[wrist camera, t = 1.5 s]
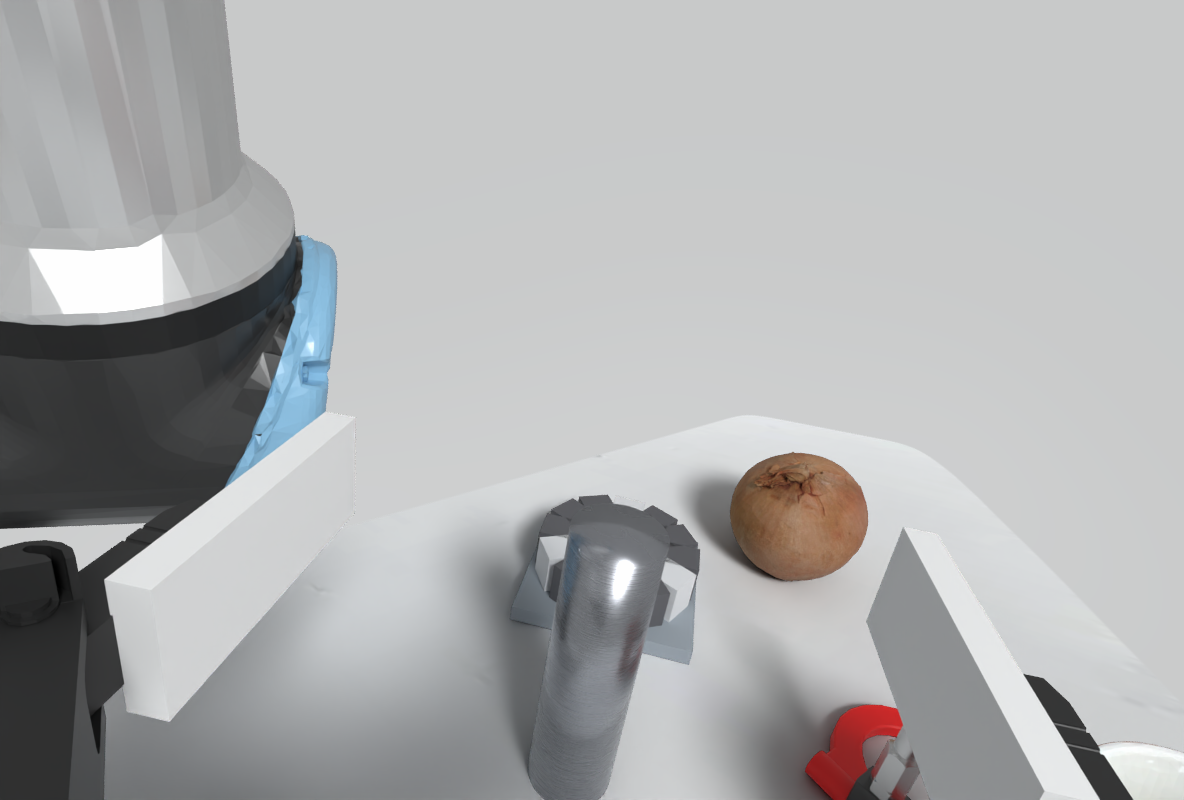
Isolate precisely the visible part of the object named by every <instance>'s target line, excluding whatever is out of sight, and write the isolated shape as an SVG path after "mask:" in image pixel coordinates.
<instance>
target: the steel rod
mask: <svg viewBox="0 0 1184 800" xmlns="http://www.w3.org/2000/svg"><path fill="white" fill-rule="evenodd" d="M669 545H670V539H669V535H668V533H667V531H666V530H665V528H664V527H663V526H662V524H661V523H660V522H659V521H657V520H656V519H655V518H654V517H652V516H650V515H649V514H647V513H645V512H643V511H641V510H639V509H636V508H633V507H630V506H626V505H621V504H611V503H604V504H595V505H591V506H588V507H585V508H583V509H581V510H580V511H578V512H577V513H576V514H575V515H574V516H573V518H572V520H571V523H570V528H569V533H568V539H567V545H566V550H565V556H564V562H563V567H562V573H561V579H560V585H559V590H558V596H557V602H556V607H555V613H554V619H553V624H552V630H551V636H550V642H549V647H548V653H547V659H546V664H545V670H544V676H543V682H542V687H541V693H540V699H539V704H538V710H537V716H536V721H535V727H534V733H533V739H532V744H531V750H530V756H529V761H528V773H529V778H530V780H531V783H532V785H533V787H534V788H535V790H536V791H537V792H538V794H539V795H540V796H541V797H542V798H544V799H545V800H598V799H599V798H601V796H602V795H603V794H604V793H605V791H606V789H607V787H608V784H609V780H610V777H611V773H612V769H613V765H614V761H615V757H616V753H617V749H618V745H619V741H620V737H621V733H622V730H623V726H624V722H625V718H626V714H627V710H628V706H629V702H630V698H631V694H632V690H633V686H634V683H635V679H636V675H637V671H638V667H639V663H640V659H641V655H642V651H643V647H644V643H645V640H646V636H647V632H648V628H649V624H650V620H651V616H652V612H653V608H654V604H655V600H656V596H657V593H658V589H659V585H660V581H661V577H662V573H663V569H664V565H665V561H666V557H667V553H668V550H669Z"/></svg>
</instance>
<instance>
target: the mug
mask: <svg viewBox="0 0 1184 800" xmlns="http://www.w3.org/2000/svg"><path fill="white" fill-rule="evenodd" d="M1098 747H1099V748H1100V754H1102V755H1104V756H1105V757H1106V759H1107V760H1108V762H1109V763H1110V765H1111V766H1112V768H1113V769H1114V771H1115V772H1116V774H1117V776H1118V777H1119V779H1120V780H1121V782H1122V783H1123V785H1124V786H1125V788H1126V789H1127V791H1128V792H1129V794H1130V795H1131V797H1132V798H1133V800H1184V752H1181V751H1177V750H1173V749H1170V748H1166V747H1162V746H1158V745H1153V744H1147V743H1141V742H1127V741H1126V742H1111V743H1105V744H1101V745H1098Z"/></svg>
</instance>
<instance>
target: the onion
mask: <svg viewBox="0 0 1184 800" xmlns="http://www.w3.org/2000/svg"><path fill="white" fill-rule="evenodd" d="M730 519H731V525H732V529H733V533H734V535H735V538H736V540H737V542H738V544H739V546H740V547H741V549H742V550H743V552H744V554H745V555H746V556H747V557H748V558H749V560H750V561H751V562H753V563H754V564H755V565H756V566H757V567H759V568H760V569H762V570H764V571H765V572H767V573H768V574H770V575H772V576H774V577H776V578H779V579H783V580H786V581H793V580H812V579H815V578H820V577H824V576H826V575H828V574H831V573H833V572H835V571H836V570H838V569H840V568H841V567H843V566H844V565H845V564H846V563H847V562H848V561H849V560H850V559H851V558H852V556H853V555H854V554H855V553H856V552H857V551H858V550H859V548H860V547H861V545H862V543H863V540H864V537H865V535H866V531H867V526H868V511H867V505H866V501H865V498H864V495H863V492H862V489H861V486H859V485H858V484H857V482H856V481H855V480H854V478H853V477H852V476H851V475H850V474H849V473H848V472H847V471H846V470H845V469H844V468H842V467H841V466H839V465H838V464H836V463H835V462H833V461H830V460H828V459H826V458H823V457H820V456H816V455H812V454H805V453H794V452H792V453H789V454H783V455H778V456H774V457H771V458H768V459H766V460H763V461H761V462H759V463H757V464H756V465H755V466H753V467H752V468H751V469H749V470H748V471H747V472H746V473H745V475H744V476H743V477H742V479H741V480H740V482H739V483H738V485H737V487H736V488H735V491H734V494H733V496H732V502H731V508H730Z"/></svg>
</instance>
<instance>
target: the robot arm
mask: <svg viewBox="0 0 1184 800" xmlns="http://www.w3.org/2000/svg"><path fill="white" fill-rule="evenodd" d="M336 296H337V261H336V256H335V253H334V251H333V249H332V248H331V247H330V246H328V245H326V244H324V243H322V242H318V241H314V240H313V239H312V238H309V237H308V236H304V235H301V236H295V222H294V212H293V209H292V205H291V202H290V199H289V197H288V195H287V193H286V191H285V189H284V188H283V187H282V186H281V184H279V182H278V181H277V179H275V178H274V177H273V176H272V175H271V174H270V173H269V172H268V171H267V170H265V169H264V168H263V167H261V166H260V165H259V164H257V163H256V162H255V161H253V160H252V159H251V158H249V157H248V156H247V155H245V154H244V153H243V152H241V150H240V141H239V132H238V123H237V114H236V104H235V95H234V86H233V77H232V68H231V59H230V49H229V40H228V31H227V22H226V13H225V4H224V0H0V529H7V528H30V527H31V528H32V527H57V526H83V525H108V524H131V523H146V524H145V525H144V527H143V529H141V528H140V529H138V530H137V531H135V532H134V533H132V534H131V535H130V536H128V537H127V538H126V541H121V542H120V543H118V544H117V545H116V546H114V547H113V548H111V549H110V550H109V551H107V552H106V553H104V554H103V555H102V556H100V557H99V558H97V559H96V560H95V561H93V562H92V563H91V564H89V565H88V566H86V567H85V568H84V569H82V570H81V571H79V572H78V568H77V563H76V558H75V555H74V552H73V549H72V548H71V547H69V546H67V545H65V544H63V543H61V542H54V541H47V540H43V541H29V542H23V543H18V544H14V545H10V546H7V547H3V548H0V800H104V769H105V732H106V716H105V711H104V706H103V704H104V703H105V702H106V701H107V700H108V699H109V698H110V697H111V696H112V695H113V694H114V693H115V692H116V691H117V690H119V689H120V688H121V687H123V693H124V698H125V704H126V710H127V712H130V713H134V714H138V715H142V716H147V717H151V718H155V719H159V720H163V721H167V722H170V721H171V719H172V718H173V717H174V716H175V715H176V714H177V713H178V712H179V710H180V709H181V708H182V707H183V706H184V705H185V704H186V703H187V701H188V700H189V699H190V698H191V697H192V696H193V695H194V694H195V692H196V691H197V690H198V689H199V688H200V687H201V686H202V685H203V683H204V682H205V681H206V680H207V679H208V678H209V677H210V676H211V674H212V673H213V672H214V671H215V670H216V669H217V668H218V667H219V665H220V664H221V663H222V662H223V661H224V660H225V659H226V658H227V656H228V655H229V654H230V653H231V652H232V651H233V650H234V649H235V647H236V646H237V645H238V644H239V643H240V642H241V641H242V640H243V638H244V637H245V636H246V635H247V634H248V633H249V632H250V631H251V629H252V628H253V627H254V626H255V625H256V624H257V623H258V622H259V620H260V619H261V618H262V617H263V616H264V615H265V614H266V613H267V611H268V610H269V609H270V608H271V607H272V606H273V605H274V604H275V603H276V601H277V600H278V599H279V598H280V597H281V596H282V595H283V594H284V592H285V591H286V590H287V589H288V588H289V587H290V586H291V585H292V583H293V582H294V581H295V580H296V579H297V578H298V577H299V576H300V574H301V573H302V572H303V571H304V570H305V569H306V568H307V567H308V565H309V564H310V563H311V562H312V561H313V560H314V559H315V558H316V556H317V555H318V554H319V553H320V552H321V551H322V550H323V549H324V547H325V546H326V545H327V544H328V543H329V542H330V541H331V540H332V538H333V537H334V536H335V535H336V534H337V533H338V532H339V531H340V529H341V528H342V527H343V526H344V525H345V524H346V523H347V522H348V520H349V519H350V518H351V517H352V516H353V515H354V514H355V443H356V441H355V438H356V434H355V433H356V418H355V417H350V416H345V415H341V414H336V413H331V412H325V411H326V401H327V393H328V377H327V372H328V370H329V369H330V358H331V351H332V346H333V338H334V326H335V314H336ZM866 622H867V624H868V627H869V630H870V633H871V636H872V638H873V641H874V644H875V647H876V650H877V652H878V655H879V658H880V661H881V664H882V667H883V669H884V672H885V675H886V678H887V681H888V683H889V686H890V689H891V692H892V695H893V697H894V700H895V703H896V706H897V709H898V712H899V714H900V717H901V720H902V723H903V726H904V728H905V731H906V734H907V737H908V740H909V742H910V745H911V748H912V751H913V754H914V757H915V759H916V762H917V765H918V768H919V771H920V773H921V776H922V779H923V782H924V785H925V787H926V790H927V793H928V796H929V799H930V800H1133V798H1132V797H1131V795H1130V794H1129V792H1128V791H1127V789H1126V788H1125V786H1124V785H1123V783H1122V782H1121V780H1120V779H1119V777H1118V776H1117V774H1116V772H1115V771H1114V769H1113V768H1112V766H1111V765H1110V763H1109V762H1108V760H1107V759H1106V757H1105V756H1104V755H1102V754H1100V748H1099V747H1098V745H1097V744H1096V742H1095V741H1094V739H1093V738H1092V736H1091V735H1090V733H1086V727H1085V726H1084V724H1083V723H1082V721H1081V720H1080V718H1079V717H1078V715H1077V714H1076V712H1075V710H1074V709H1073V707H1072V706H1071V704H1070V703H1069V702H1068V701H1067V700H1066V699H1065V698H1064V697H1063V696H1062V695H1061V694H1060V693H1058V692H1057V691H1056V690H1055V689H1054V688H1053V687H1052V686H1051V685H1050V684H1049V683H1048V682H1047V681H1046V680H1045V679H1044V678H1039V677H1035V676H1030V675H1025V674H1023V673H1022V671H1021V670H1020V668H1019V666H1018V665H1017V663H1016V662H1015V660H1014V658H1013V657H1012V655H1011V653H1010V652H1009V650H1008V648H1007V647H1006V645H1005V644H1004V642H1003V640H1002V639H1001V637H1000V635H999V634H998V632H997V630H996V629H995V627H994V626H993V624H992V622H991V621H990V619H989V617H988V616H987V614H986V612H985V611H984V609H983V608H982V606H981V604H980V603H979V601H978V599H977V598H976V596H975V594H974V593H973V591H972V590H971V588H970V586H969V585H968V583H967V581H966V580H965V578H964V576H963V575H962V573H961V572H960V570H959V568H958V567H957V565H956V563H955V562H954V560H953V558H952V557H951V555H950V554H949V552H948V550H947V549H946V547H945V545H944V544H943V542H942V540H941V539H940V537H939V535H938V534H936V533H931V532H926V531H921V530H916V529H911V528H906V527H903V529H902V532H901V534H900V537H899V539H898V542H897V544H896V547H895V549H894V552H893V554H892V557H891V560H890V562H889V565H888V567H887V570H886V572H885V575H884V577H883V580H882V582H881V585H880V588H879V590H878V593H877V595H876V598H875V600H874V603H873V605H872V608H871V611H870V613H869V616H868V618H867V621H866Z"/></svg>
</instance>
